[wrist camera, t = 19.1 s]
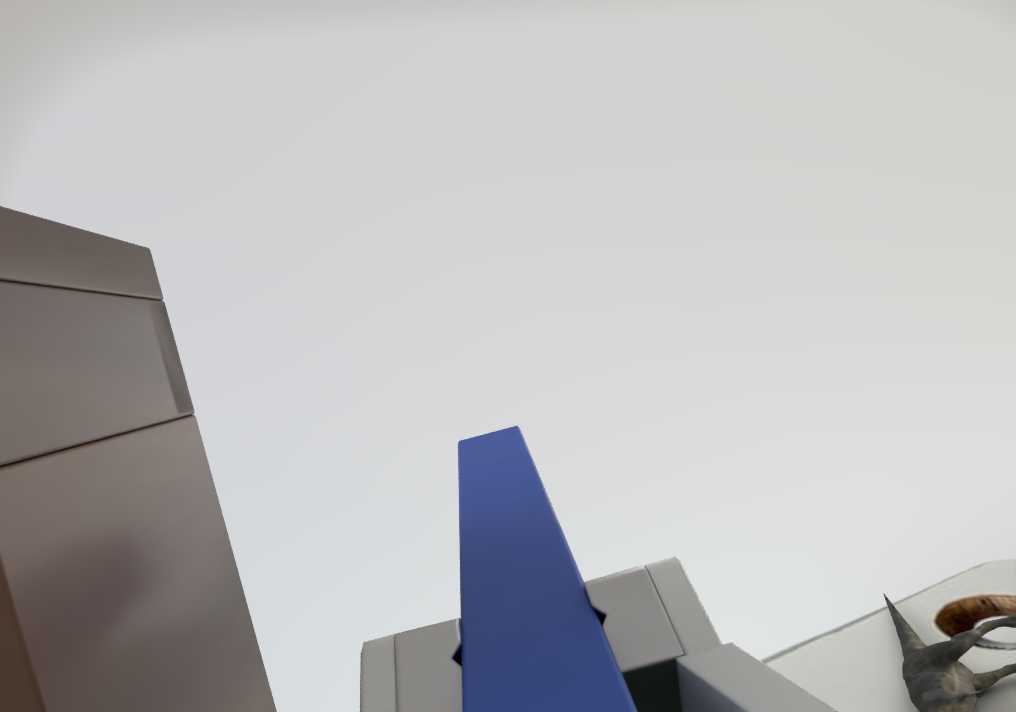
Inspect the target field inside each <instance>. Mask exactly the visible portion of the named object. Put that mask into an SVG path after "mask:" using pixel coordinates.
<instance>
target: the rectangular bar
mask: <svg viewBox="0 0 1016 712" xmlns="http://www.w3.org/2000/svg"><path fill="white" fill-rule="evenodd" d="M458 469H459V532H460V587H461V588H460V594H461V622H462V651H461V659H462V712H638V711H637V709H636V706H635V704H634V701H633V699H632V697H631V694H630V692H629V689H628V687H627V685H626V682H625V680H624V677H623V675H622V673H621V670H620V668H619V665H618V663H617V661H616V658H615V656H614V653H613V651H612V649H611V646H610V644H609V641H608V639H607V637H606V634H605V632H604V629H603V628H602V625H601V622H600V620H599V617H598V615H597V614H596V612H595V611H594V610H593V609H592V607H591V604H590V602H589V599H588V597H587V595H586V592H585V590H584V585H583V579H582V577H581V574H580V572H579V570H578V567H577V565H576V562H575V560H574V558H573V555H572V553H571V551H570V548H569V546H568V543H567V541H566V538H565V536H564V534H563V531H562V529H561V526H560V524H559V522H558V519H557V517H556V514H555V512H554V510H553V507H552V505H551V502H550V500H549V498H548V495H547V493H546V491H545V488H544V486H543V483H542V481H541V478H540V476H539V474H538V471H537V469H536V466H535V464H534V462H533V459H532V457H531V455H530V452H529V450H528V447H527V445H526V442H525V440H524V438H523V435H522V433H521V430H520V428H519V427H518V426H515V427H510V428H507V429H503V430H499V431H496V432H492V433H488V434H484V435H480V436H476V437H473V438H469V439H465V440H461V441H459V442H458Z"/></svg>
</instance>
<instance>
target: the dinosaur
mask: <svg viewBox="0 0 1016 712" xmlns="http://www.w3.org/2000/svg"><path fill="white" fill-rule="evenodd" d="M884 597H885V599H886V602H887V605H888V608H889V610H890V613H891V616H892V618H893V621H894V624H895V626H896V630H897V634H898V637H899V639H900V642H901V647H902V652H903V656H904V662H903V679H904V680H905V683H906V686H907V688H908V691H909V695H910V699H911V701H912V703H913V704H914V705H915V707H916V708H917V709H918V710H919V711H920V712H973V710H974V706H975V703H976V699H977V697H981V696H983V695H976V694H978V693H981V692H983V691H985V690H983V689H986V688H988V687H990V686H992V685H993V684H994V683H996V682H997V681H998V680H999V679H1001V678H1003V677H1005V676H1008V675H1010V674H1013V673H1016V664H1012V665H1006V666H1004V667H1003V668H1001V669H998V670H995V671H991V672H987V673H981V674H973V673H972V671H971V670H969V669H968V668H967V667H966V666H964V665H963V664H962V663H960V662H959V661H958V659H959V658H960V657H961V656H962V655H963V654H965V653H966V652H967V651H968V650H969V649H970V648H971V647H972V646H973V645H974V644H975V643H976V642H977V641H978V639H979V638H981V637H982V636H983V635H984V634H986V633H987V632H989V631H992V630H994V629H996V628H998V627H1004V626H1005V627H1012V628H1015V627H1016V614H1014V615H1011V616H1009V617H1006V618H1001V619H997V620H992V621H987V622H985V623H983V624H981V625H980V626H979V627H977V628H975V629H973V630H970V631H967V632H963V633H960V634H957V635H955V636H953V637H952V638H951V640H950V641H945V642H941V643H936V644H933V645H930V646H926V645H925V644H924V643H923V642H922V641H921V639H920V638H919V637H918V636H917V634H916V633H915V632H914V631H913V629H912V628H911V627H910V626H909V624H908V623H907V622H906V621H905V619H904V618H903V617H902V616H901V614H900V613H899V612H898V611H897V609H896V608H895V607H894V606H893V604H892V603H891V602H890V601H889V600H888V598H887V597H886V596H885V594H884Z"/></svg>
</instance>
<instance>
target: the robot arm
mask: <svg viewBox="0 0 1016 712" xmlns="http://www.w3.org/2000/svg"><path fill="white" fill-rule="evenodd" d="M583 585H584V590H585V592H586V595H587V597H588V599H589V602H590V604H591V607H592V609H593V610H594V611H595V612H596V614H597V615H598V617H599V620H600V622H601V625H602V628H603V629H604V632H605V634H606V637H607V639H608V641H609V644H610V646H611V649H612V651H613V653H614V656H615V658H616V661H617V663H618V665H619V668H620V670H621V673H622V675H623V677H624V680H625V682H626V685H627V687H628V689H629V692H630V694H631V697H632V699H633V701H634V704H635V706H636V709H637V711H638V712H838V711H836V710H835V709H833V708H832V707H830V706H829V705H827V704H826V703H824V702H822V701H821V700H819V699H818V698H816V697H815V696H813V695H812V694H810V693H809V692H807V691H806V690H804V689H803V688H801V687H799V686H798V685H796V684H795V683H793V682H792V681H790V680H789V679H787V678H786V677H784V676H783V675H781V674H779V673H778V672H776V671H775V670H773V669H772V668H770V667H769V666H767V665H766V664H764V663H763V662H761V661H760V660H758V659H756V658H755V657H753V656H752V655H750V654H749V653H747V652H746V651H744V650H743V649H741V648H740V647H738V646H736V645H735V644H733V643H728V644H724V645H722V643H721V641H720V639H719V637H718V635H717V633H716V631H715V629H714V627H713V625H712V623H711V621H710V619H709V617H708V615H707V613H706V612H705V610H704V607H703V606H702V604H701V602H700V600H699V598H698V596H697V594H696V592H695V590H694V588H693V586H692V584H691V582H690V580H689V578H688V576H687V574H686V572H685V570H684V568H683V566H682V564H681V562H680V561H679V560H678V559H677V558H676V557H673V558H669V559H666V560H662V561H659V562H655V563H651V564H648V565H645V566H643V565H641V566H638V567H635V568H631V569H628V570H624V571H621V572H617V573H614V574H611V575H607V576H604V577H600V578H597V579H593V580H590V581H587V582H583ZM461 651H462V622H461V619H460V618H458V619H454V620H450V621H446V622H442V623H438V624H434V625H429V626H426V627H422V628H417V629H413V630H409V631H405V632H401V633H397V634H393V635H390V636H386V637H382V638H379V639H375V640H371V641H367V642H364V644H363V648H362V651H361V675H360V678H361V680H360V712H462V659H461Z"/></svg>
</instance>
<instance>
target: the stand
mask: <svg viewBox="0 0 1016 712" xmlns="http://www.w3.org/2000/svg"><path fill="white" fill-rule="evenodd" d="M162 300H163V295H162V292H161V288H160V284H159V281H158V277H157V273H156V270H155V266H154V262H153V259H152V255H151V252H150V249H149V248H146V247H143V246H139V245H135V244H132V243H128V242H125V241H121V240H118V239H114V238H110V237H107V236H104V235H100V234H97V233H93V232H90V231H86V230H82V229H79V228H75V227H71V226H68V225H65V224H61V223H58V222H54V221H51V220H47V219H43V218H40V217H37V216H33V215H29V214H26V213H22V212H19V211H15V210H12V209H8V208H4V207H1V206H0V712H277V711H276V708H275V704H274V701H273V697H272V693H271V689H270V686H269V682H268V679H267V675H266V671H265V668H264V664H263V661H262V657H261V653H260V650H259V646H258V642H257V638H256V635H255V631H254V628H253V624H252V620H251V617H250V613H249V609H248V606H247V602H246V598H245V595H244V591H243V587H242V584H241V580H240V577H239V573H238V569H237V566H236V562H235V559H234V555H233V551H232V547H231V544H230V540H229V537H228V533H227V529H226V526H225V522H224V518H223V515H222V511H221V507H220V504H219V500H218V496H217V493H216V489H215V486H214V482H213V478H212V475H211V471H210V467H209V464H208V460H207V456H206V453H205V449H204V446H203V442H202V438H201V435H200V431H199V427H198V424H197V420H196V417H195V416H194V415H193V414H194V409H193V405H192V401H191V397H190V394H189V390H188V386H187V383H186V379H185V375H184V372H183V368H182V365H181V361H180V357H179V354H178V350H177V346H176V343H175V340H174V335H173V332H172V328H171V325H170V321H169V318H168V314H167V310H166V306H165V303H164V302H163V301H162Z"/></svg>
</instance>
